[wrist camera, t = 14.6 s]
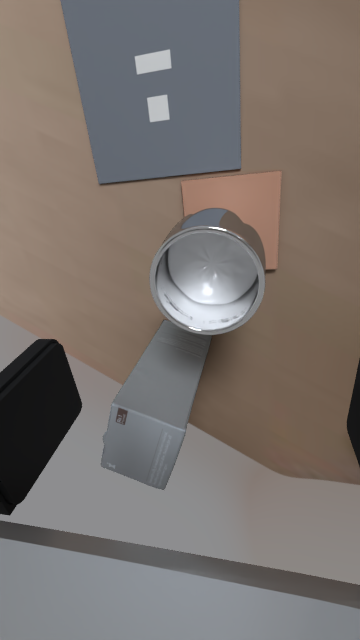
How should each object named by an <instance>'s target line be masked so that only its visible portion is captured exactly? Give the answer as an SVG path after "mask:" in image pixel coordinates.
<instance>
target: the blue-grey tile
mask: <svg viewBox="0 0 360 640" xmlns="http://www.w3.org/2000/svg"><path fill="white" fill-rule="evenodd" d="M61 5H62V9H63V14H64V19H65V24H66V29H67V33H68V38H69V43H70V48H71V53H72V57H73V62H74V67H75V72H76V77H77V81H78V86H79V91H80V96H81V100H82V105H83V110H84V115H85V120H86V124H87V129H88V134H89V139H90V144H91V148H92V153H93V158H94V163H95V167H96V172H97V177H98V182H99V184H101V183H111V182H120V181H129V180H139V179H148V178H158V177H167V176H176V175H186V174H195V173H205V172H214V171H223V170H233V169H241V135H240V41H239V0H61Z"/></svg>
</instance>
